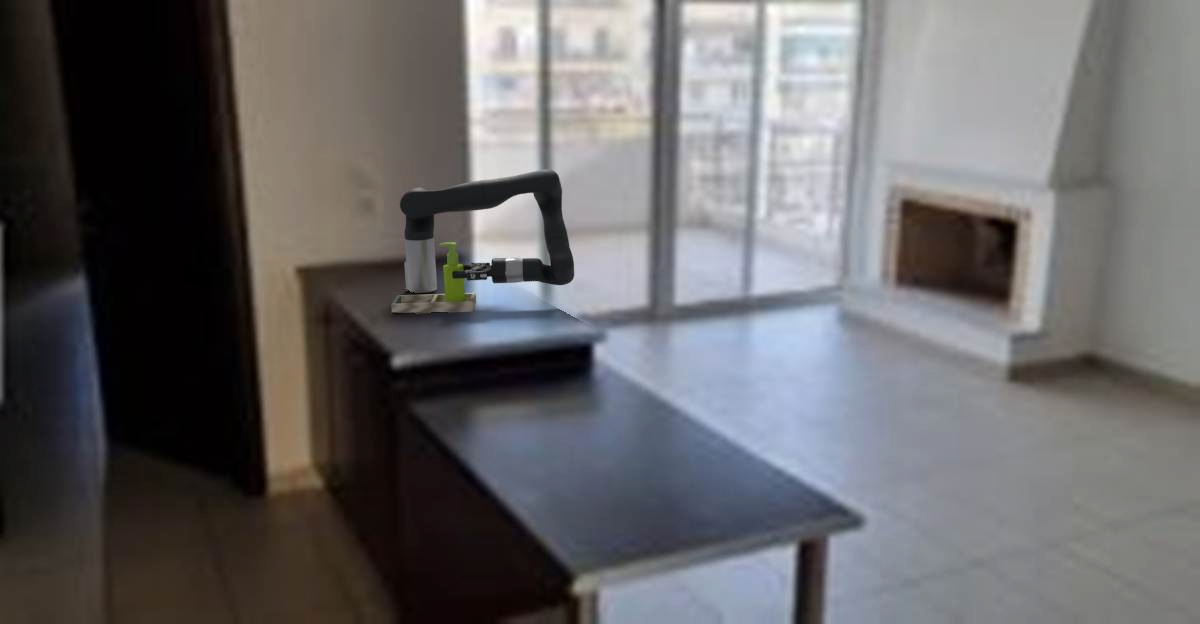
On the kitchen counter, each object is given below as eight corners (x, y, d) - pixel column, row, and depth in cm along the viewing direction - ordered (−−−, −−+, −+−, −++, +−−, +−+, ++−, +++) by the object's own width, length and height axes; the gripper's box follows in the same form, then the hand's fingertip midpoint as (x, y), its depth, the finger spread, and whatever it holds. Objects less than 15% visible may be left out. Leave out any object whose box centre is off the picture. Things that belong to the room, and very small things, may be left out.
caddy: (391, 314, 309) (391, 304, 309) (398, 304, 321) (397, 295, 320) (472, 311, 310) (472, 301, 309) (476, 302, 322) (475, 292, 321)
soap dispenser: (443, 305, 318) (439, 241, 313) (465, 304, 319) (462, 240, 314) (441, 310, 313) (437, 244, 308) (465, 309, 313) (461, 243, 308)
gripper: (508, 253, 319) (455, 255, 319) (506, 262, 306) (450, 264, 305) (509, 277, 321) (457, 279, 321) (507, 287, 307) (452, 289, 307)
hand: (453, 272), depth 313 cm, fingers open, 8 cm apart
